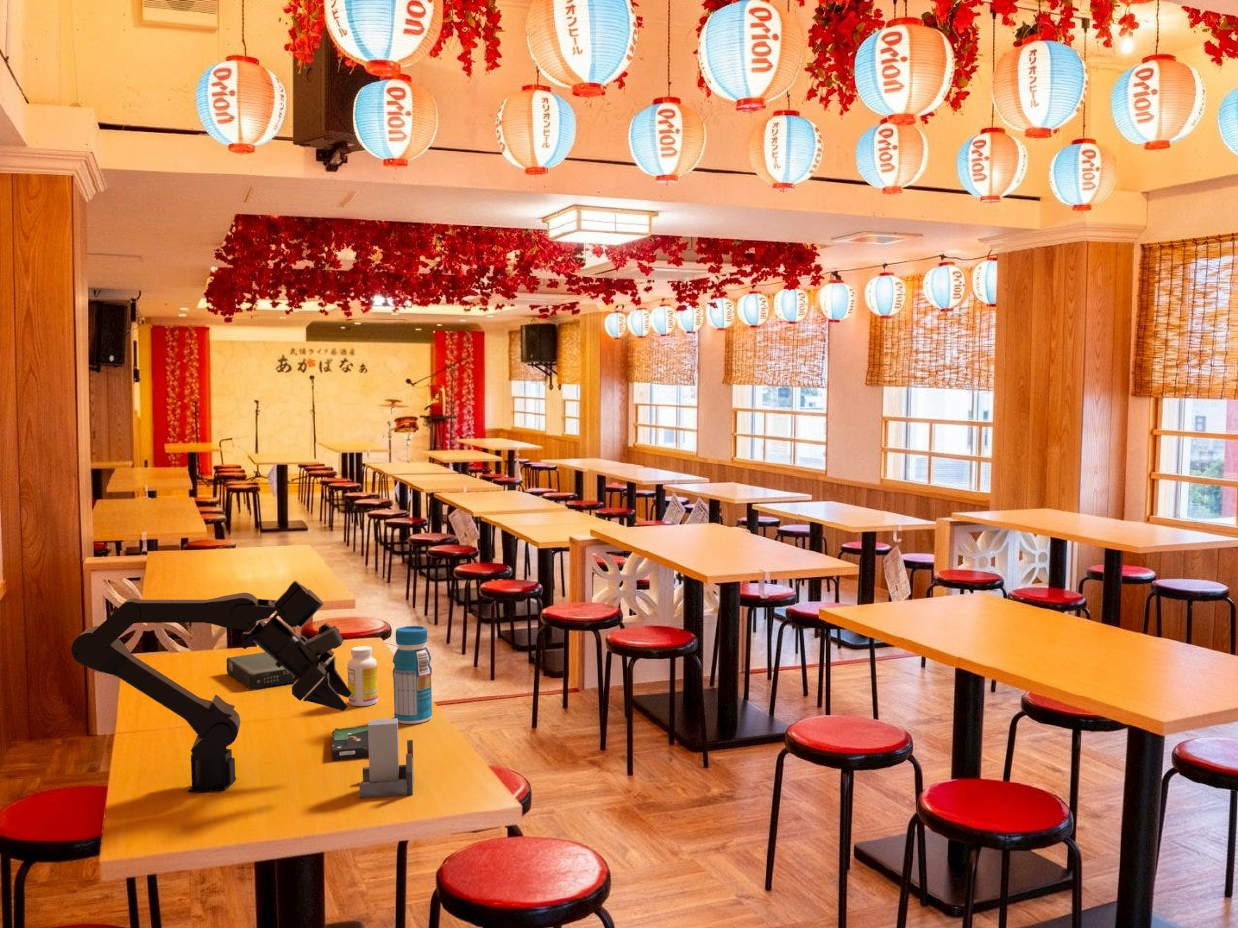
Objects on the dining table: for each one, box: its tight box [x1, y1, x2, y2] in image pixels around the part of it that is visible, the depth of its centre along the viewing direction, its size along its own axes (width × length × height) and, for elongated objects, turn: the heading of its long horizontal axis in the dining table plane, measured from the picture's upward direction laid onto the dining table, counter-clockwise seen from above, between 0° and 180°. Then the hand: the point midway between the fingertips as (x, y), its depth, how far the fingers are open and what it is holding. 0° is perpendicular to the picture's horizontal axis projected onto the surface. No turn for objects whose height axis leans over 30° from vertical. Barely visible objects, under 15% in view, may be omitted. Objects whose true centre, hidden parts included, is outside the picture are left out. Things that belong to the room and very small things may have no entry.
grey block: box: [367, 718, 400, 782], centre depth 188 cm, size 5×5×12 cm
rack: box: [358, 739, 415, 799], centre depth 189 cm, size 9×9×7 cm
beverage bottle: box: [392, 625, 433, 725], centre depth 231 cm, size 8×8×20 cm
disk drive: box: [331, 725, 369, 762], centre depth 212 cm, size 10×3×15 cm
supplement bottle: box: [346, 645, 379, 707], centre depth 244 cm, size 7×7×13 cm
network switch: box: [226, 651, 331, 691], centre depth 272 cm, size 23×24×5 cm
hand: (347, 701), depth 195 cm, fingers open, 9 cm apart
